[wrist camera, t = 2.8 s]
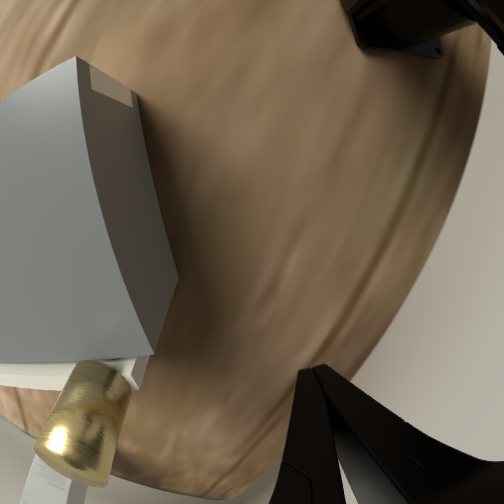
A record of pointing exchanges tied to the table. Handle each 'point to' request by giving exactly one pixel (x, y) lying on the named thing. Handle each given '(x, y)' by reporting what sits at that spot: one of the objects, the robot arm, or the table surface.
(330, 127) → the table surface
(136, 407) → the table surface
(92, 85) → the case
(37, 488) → the skincare box
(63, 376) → the side door
